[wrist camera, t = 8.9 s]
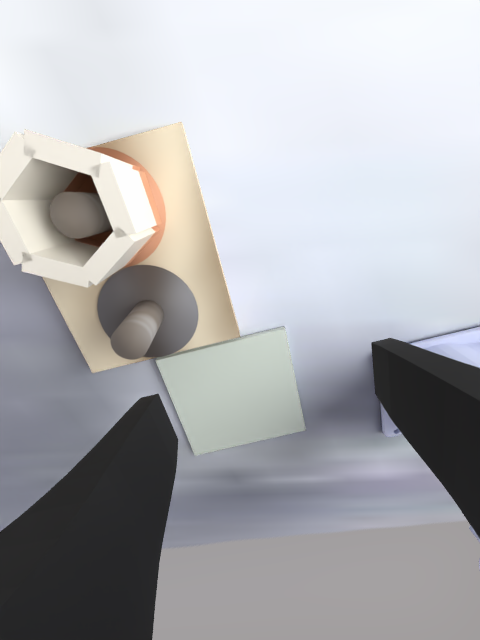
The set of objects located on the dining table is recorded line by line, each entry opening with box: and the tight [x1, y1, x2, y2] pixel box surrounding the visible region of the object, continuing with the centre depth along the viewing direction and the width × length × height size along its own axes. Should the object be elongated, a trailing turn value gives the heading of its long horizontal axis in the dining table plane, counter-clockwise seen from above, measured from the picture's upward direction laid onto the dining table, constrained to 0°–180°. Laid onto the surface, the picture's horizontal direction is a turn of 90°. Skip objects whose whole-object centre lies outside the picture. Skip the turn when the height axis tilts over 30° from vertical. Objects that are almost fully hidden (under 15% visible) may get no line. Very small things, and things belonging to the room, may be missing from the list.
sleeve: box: [0, 129, 162, 288], centre depth 13 cm, size 5×6×5 cm
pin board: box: [42, 122, 240, 373], centre depth 15 cm, size 10×12×5 cm
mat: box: [156, 327, 306, 456], centre depth 21 cm, size 9×9×1 cm
